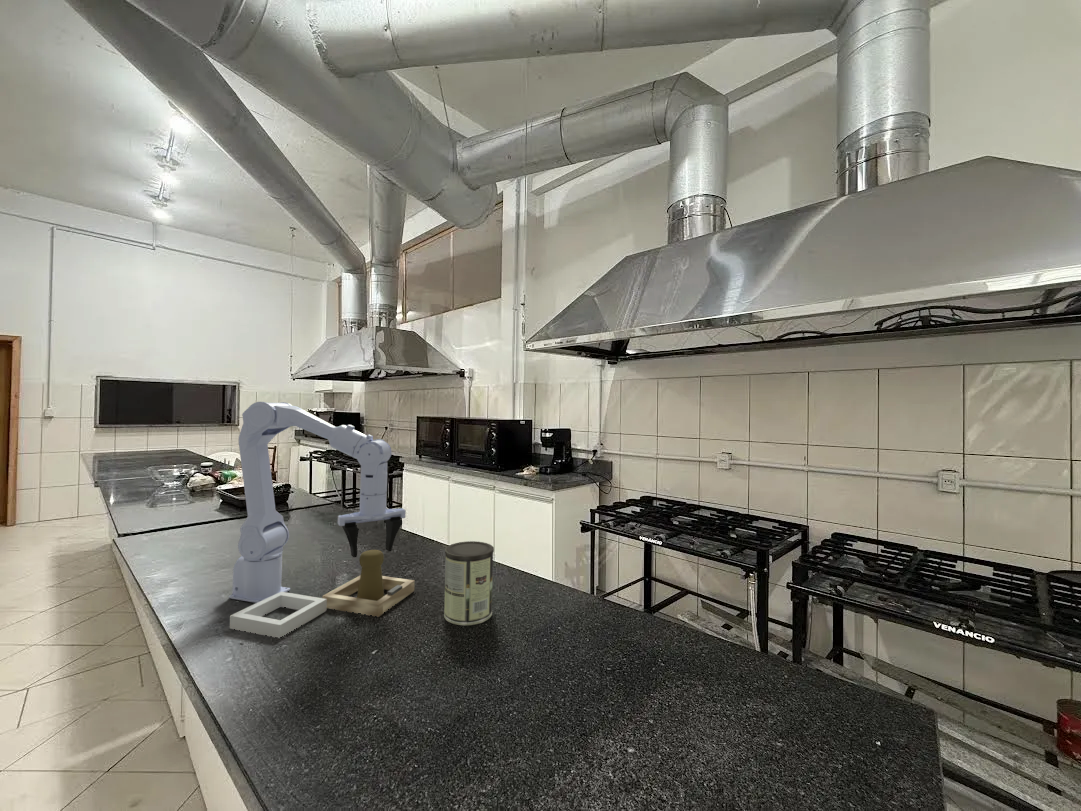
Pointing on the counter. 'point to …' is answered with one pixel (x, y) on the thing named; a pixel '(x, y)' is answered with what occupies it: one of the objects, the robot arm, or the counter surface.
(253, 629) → the white picture frame
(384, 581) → the wooden square frame
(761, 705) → the counter surface
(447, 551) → the coffee can
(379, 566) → the cork
